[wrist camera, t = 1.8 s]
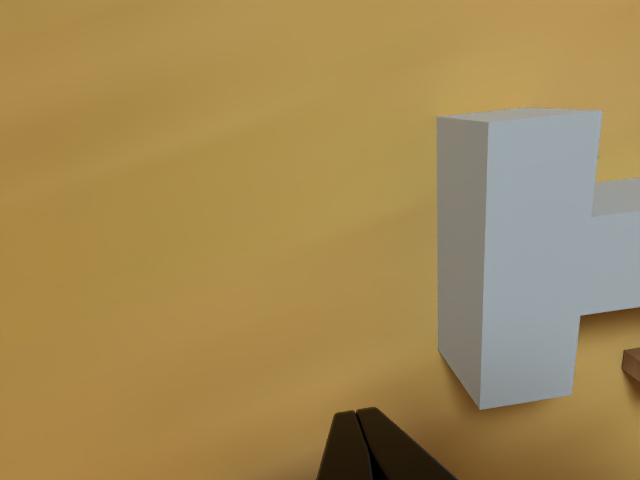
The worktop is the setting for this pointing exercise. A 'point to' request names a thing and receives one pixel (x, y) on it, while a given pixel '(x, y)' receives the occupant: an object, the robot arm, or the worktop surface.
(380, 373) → the worktop surface
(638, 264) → the t block
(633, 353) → the dock
